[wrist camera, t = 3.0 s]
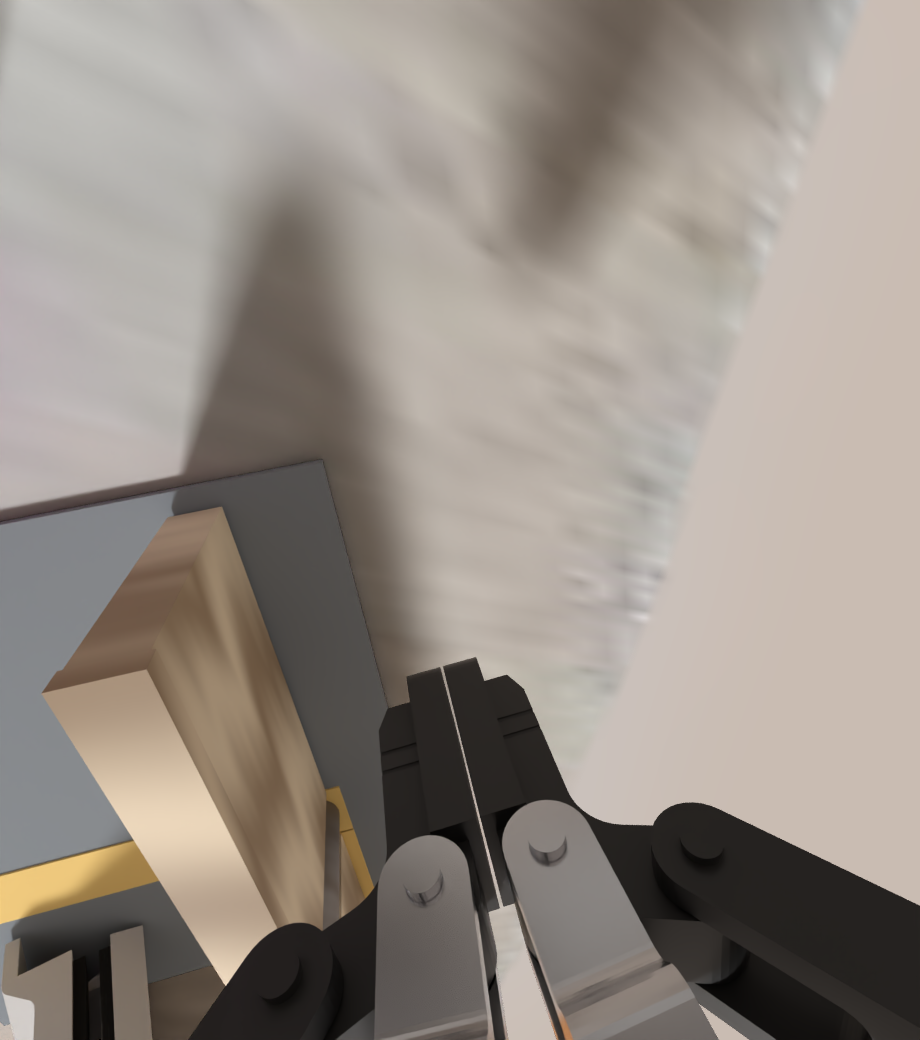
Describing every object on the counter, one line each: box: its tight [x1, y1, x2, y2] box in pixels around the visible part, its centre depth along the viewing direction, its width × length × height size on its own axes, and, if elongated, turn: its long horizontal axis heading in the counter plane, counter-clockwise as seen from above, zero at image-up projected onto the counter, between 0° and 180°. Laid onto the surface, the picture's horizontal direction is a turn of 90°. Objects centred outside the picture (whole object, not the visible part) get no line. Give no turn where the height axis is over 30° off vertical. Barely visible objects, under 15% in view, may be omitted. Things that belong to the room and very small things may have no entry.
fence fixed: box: [323, 801, 365, 930], centre depth 22 cm, size 10×2×8 cm, turn 8°
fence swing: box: [41, 507, 327, 986], centre depth 16 cm, size 13×2×8 cm, turn 8°
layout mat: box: [0, 459, 388, 1026], centre depth 21 cm, size 23×20×1 cm
